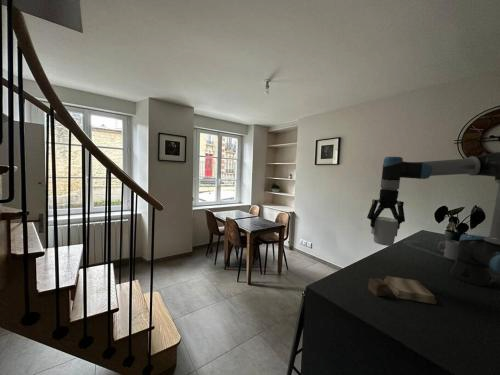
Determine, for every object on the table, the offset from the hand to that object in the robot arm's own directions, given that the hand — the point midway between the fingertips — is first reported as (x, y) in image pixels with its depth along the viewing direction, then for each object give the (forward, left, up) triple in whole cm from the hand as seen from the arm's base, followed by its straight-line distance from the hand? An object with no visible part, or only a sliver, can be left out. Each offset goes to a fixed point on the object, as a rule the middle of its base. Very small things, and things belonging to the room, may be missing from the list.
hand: (383, 234), depth 107 cm
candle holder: (0, 0, -4) cm, 4 cm away
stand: (-8, +12, -21) cm, 26 cm away
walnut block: (+6, +17, -21) cm, 28 cm away
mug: (-58, -47, -22) cm, 78 cm away
